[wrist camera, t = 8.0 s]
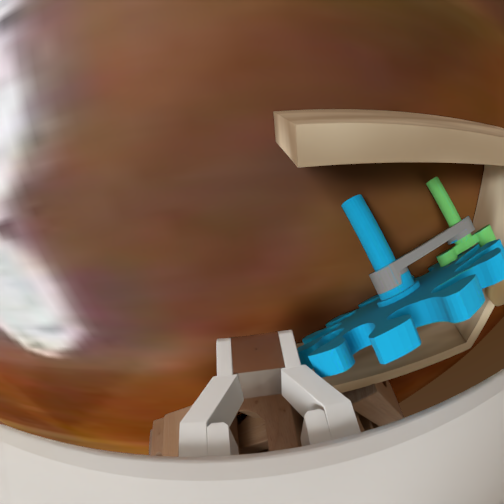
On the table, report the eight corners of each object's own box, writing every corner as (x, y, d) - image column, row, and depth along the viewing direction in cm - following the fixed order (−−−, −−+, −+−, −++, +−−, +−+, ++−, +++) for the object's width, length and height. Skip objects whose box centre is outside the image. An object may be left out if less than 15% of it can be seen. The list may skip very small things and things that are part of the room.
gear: (297, 361, 15) (325, 434, 6) (253, 267, 17) (219, 207, 7) (448, 274, 15) (564, 240, 6) (408, 193, 17) (493, 103, 7)
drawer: (273, 111, 10) (303, 129, 6) (511, 130, 10) (564, 156, 7) (286, 356, 18) (298, 414, 14) (460, 311, 18) (487, 350, 15)
